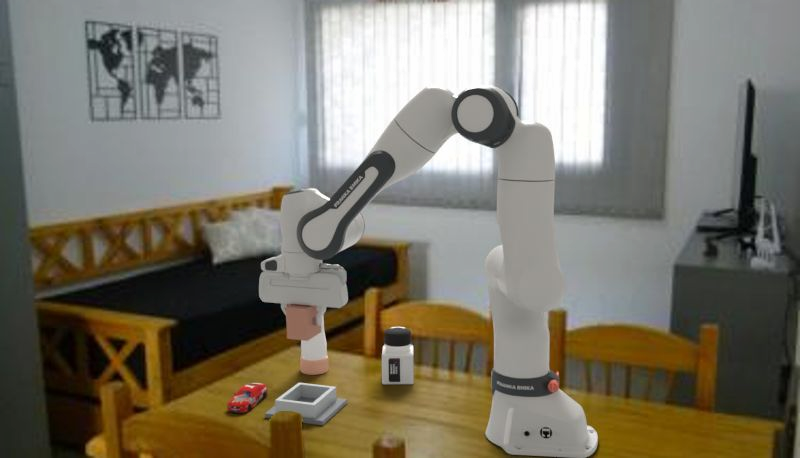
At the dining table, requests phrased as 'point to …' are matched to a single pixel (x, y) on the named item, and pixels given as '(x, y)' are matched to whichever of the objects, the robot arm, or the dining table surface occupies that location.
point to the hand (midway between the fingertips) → (304, 323)
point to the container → (397, 357)
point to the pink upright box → (301, 322)
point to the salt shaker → (314, 354)
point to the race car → (247, 397)
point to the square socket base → (309, 403)
